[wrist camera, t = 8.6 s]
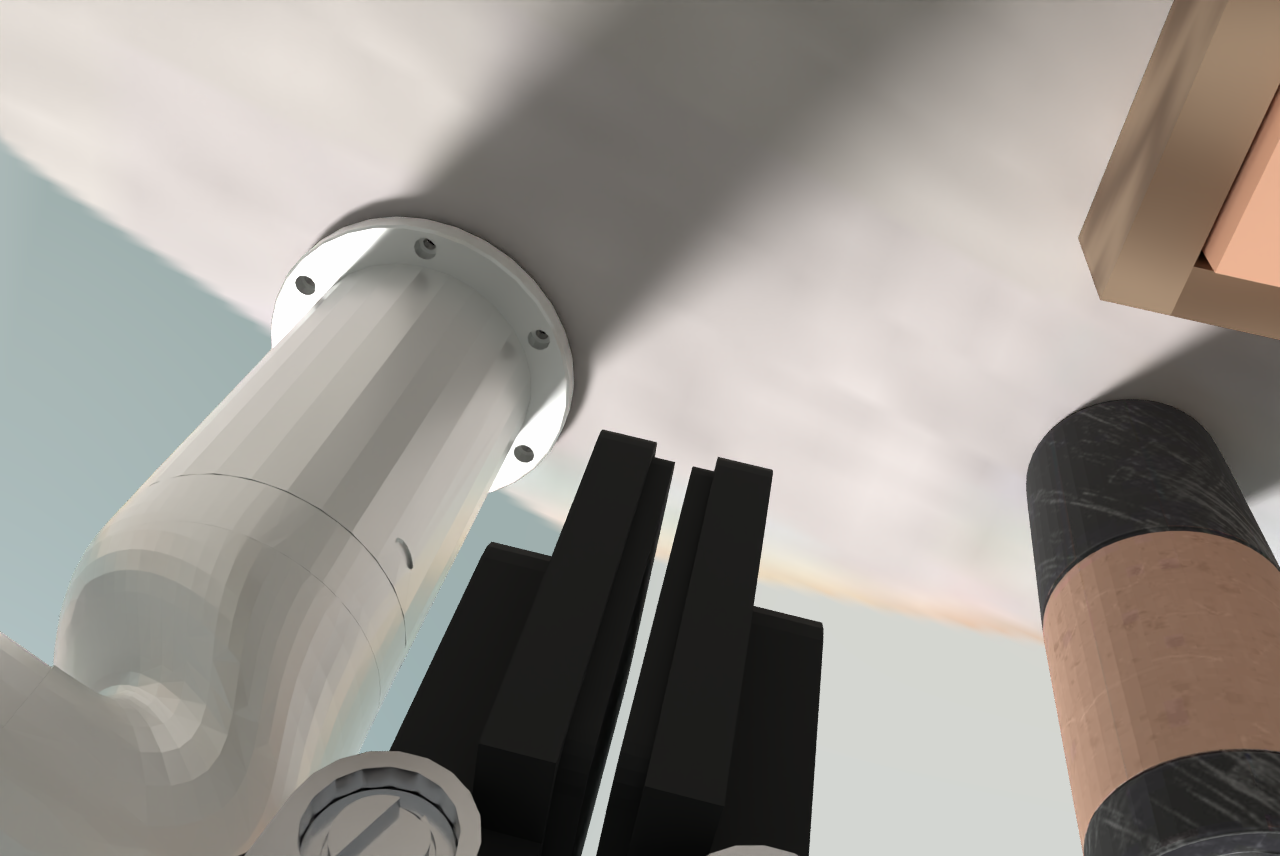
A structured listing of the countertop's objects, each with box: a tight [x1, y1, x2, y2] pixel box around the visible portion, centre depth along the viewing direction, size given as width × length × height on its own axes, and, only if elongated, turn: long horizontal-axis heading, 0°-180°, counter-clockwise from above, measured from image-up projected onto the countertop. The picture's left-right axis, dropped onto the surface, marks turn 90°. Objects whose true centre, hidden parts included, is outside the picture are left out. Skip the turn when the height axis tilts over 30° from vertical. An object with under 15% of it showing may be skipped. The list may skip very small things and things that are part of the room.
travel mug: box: [1026, 400, 1280, 856], centre depth 37 cm, size 8×8×20 cm
